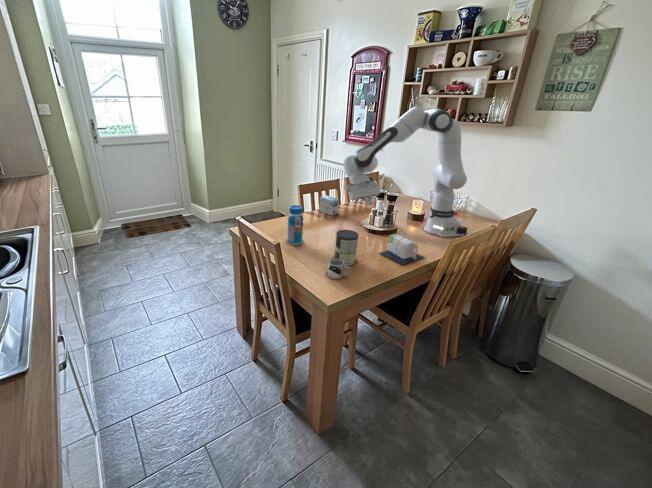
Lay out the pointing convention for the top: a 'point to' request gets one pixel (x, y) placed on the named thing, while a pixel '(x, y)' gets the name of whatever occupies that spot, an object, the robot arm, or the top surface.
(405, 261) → the mat
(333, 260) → the mug
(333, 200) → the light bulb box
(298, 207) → the beverage bottle
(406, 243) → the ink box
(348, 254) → the coffee can
